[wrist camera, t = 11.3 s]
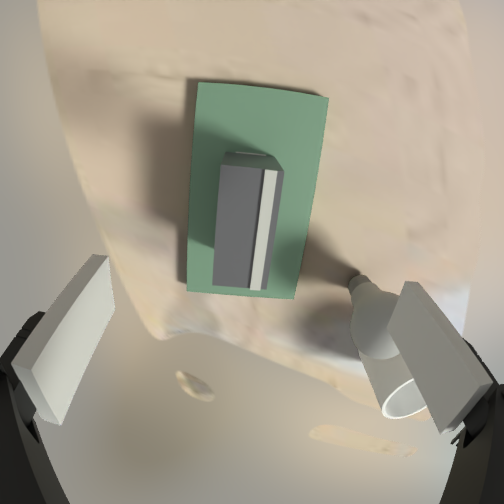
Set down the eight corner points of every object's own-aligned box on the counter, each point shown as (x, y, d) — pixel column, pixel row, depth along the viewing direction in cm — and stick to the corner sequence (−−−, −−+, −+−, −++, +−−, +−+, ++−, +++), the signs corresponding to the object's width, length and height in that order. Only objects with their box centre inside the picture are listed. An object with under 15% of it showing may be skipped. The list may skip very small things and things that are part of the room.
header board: (200, 83, 24) (192, 78, 20) (325, 98, 25) (341, 96, 20) (188, 284, 32) (181, 311, 28) (292, 293, 33) (298, 320, 29)
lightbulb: (327, 305, 34) (355, 377, 24) (332, 257, 32) (369, 323, 22) (376, 301, 34) (414, 367, 24) (385, 254, 32) (434, 314, 22)
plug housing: (225, 151, 25) (220, 165, 20) (274, 156, 26) (284, 171, 20) (217, 249, 29) (211, 286, 24) (261, 253, 30) (266, 291, 24)
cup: (436, 338, 38) (467, 386, 29) (362, 370, 40) (383, 426, 31) (436, 295, 35) (476, 345, 26) (353, 331, 36) (379, 392, 27)
